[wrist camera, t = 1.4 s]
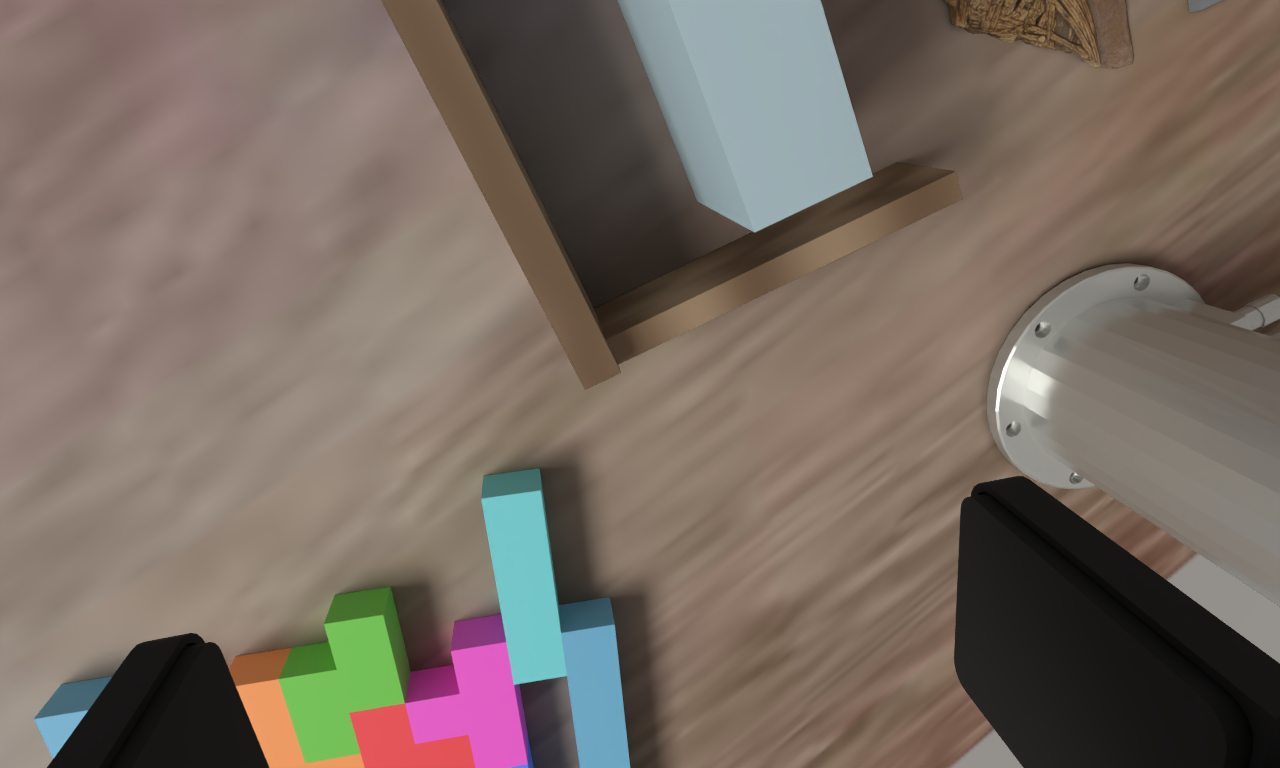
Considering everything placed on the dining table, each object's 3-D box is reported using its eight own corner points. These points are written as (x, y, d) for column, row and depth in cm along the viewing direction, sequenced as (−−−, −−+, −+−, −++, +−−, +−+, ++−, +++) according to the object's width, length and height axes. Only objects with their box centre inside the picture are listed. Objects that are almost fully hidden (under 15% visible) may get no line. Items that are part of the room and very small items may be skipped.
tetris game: (635, 840, 48) (593, 456, 38) (642, 882, 46) (599, 482, 35) (181, 930, 45) (3, 537, 35) (161, 980, 42) (-38, 571, 32)
